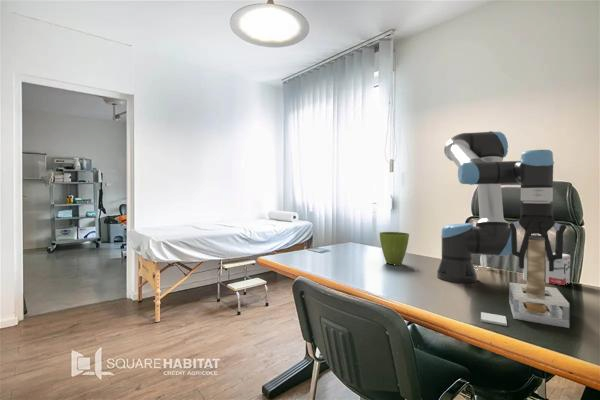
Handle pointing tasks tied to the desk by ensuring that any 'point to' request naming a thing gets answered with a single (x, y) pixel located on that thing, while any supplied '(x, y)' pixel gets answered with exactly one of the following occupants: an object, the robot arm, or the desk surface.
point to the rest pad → (493, 319)
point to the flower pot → (394, 246)
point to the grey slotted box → (551, 302)
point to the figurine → (483, 261)
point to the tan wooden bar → (536, 267)
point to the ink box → (560, 271)
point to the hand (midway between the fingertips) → (535, 280)
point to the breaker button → (535, 306)
